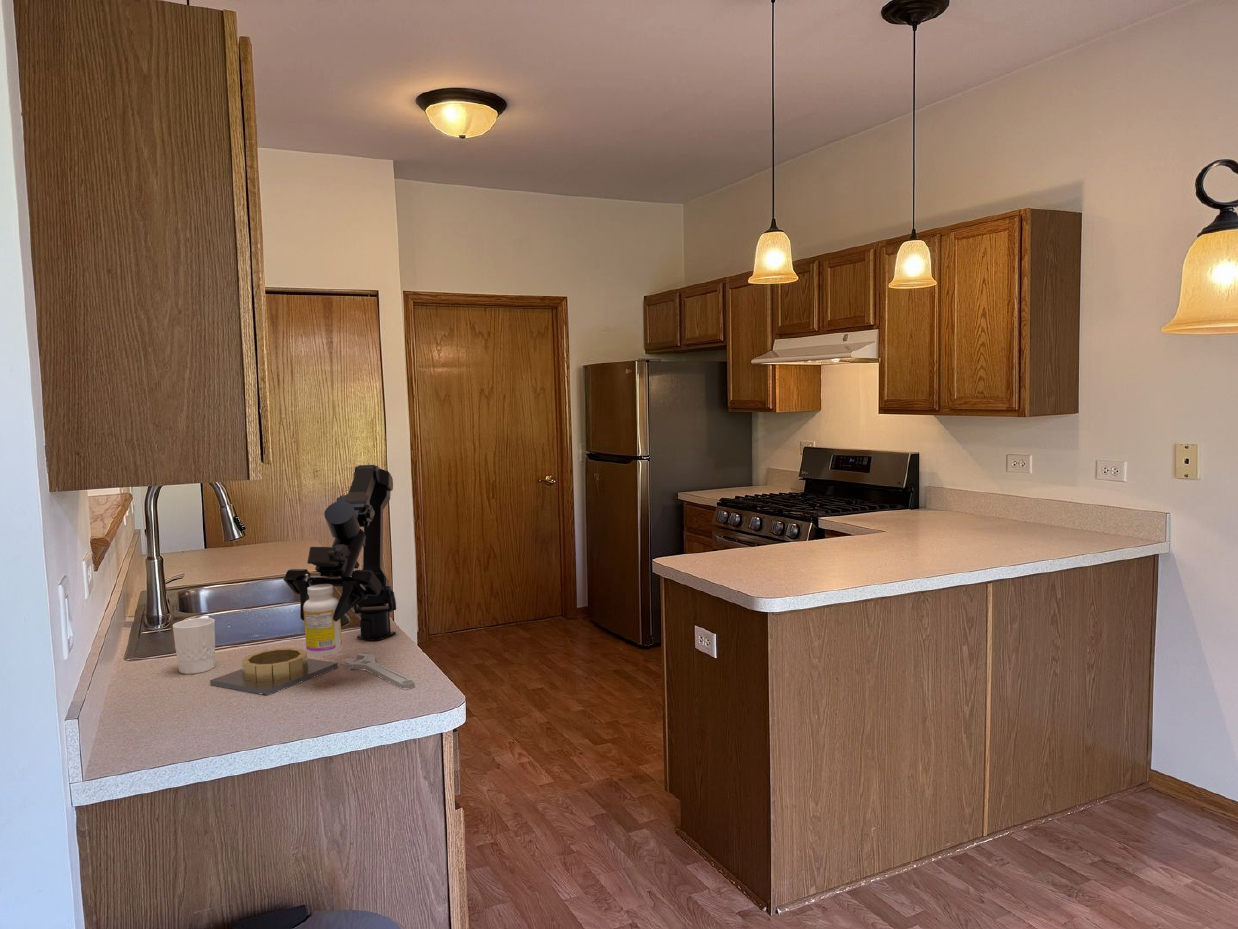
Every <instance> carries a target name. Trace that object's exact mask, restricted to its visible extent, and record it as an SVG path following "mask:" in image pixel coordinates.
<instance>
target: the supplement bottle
mask: <svg viewBox="0 0 1238 929" xmlns="http://www.w3.org/2000/svg"><path fill="white" fill-rule="evenodd" d="M307 590H308V595H309V600H307V601H306V602H305V603H304V606H303V609H304V620H303V622H304V633H305V635H304V636H305V647H306V649H305V650H306V652H307V654H308V655H310V656H311V655H312V656H327V655H333V654H335V653H338V652H339V651H341V649H342V648H343V638H342V637H343V636H342V623H341V622H342V620H341V618H340V619H339V620H338V621H334V620H333V617H334V613H335V610H336V607H337V605H338V602H339V599H338V598H337V597H334V596H333V593H334V587H333V585H331V584H319V585H313V586H310V587H308V588H307Z"/></svg>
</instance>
